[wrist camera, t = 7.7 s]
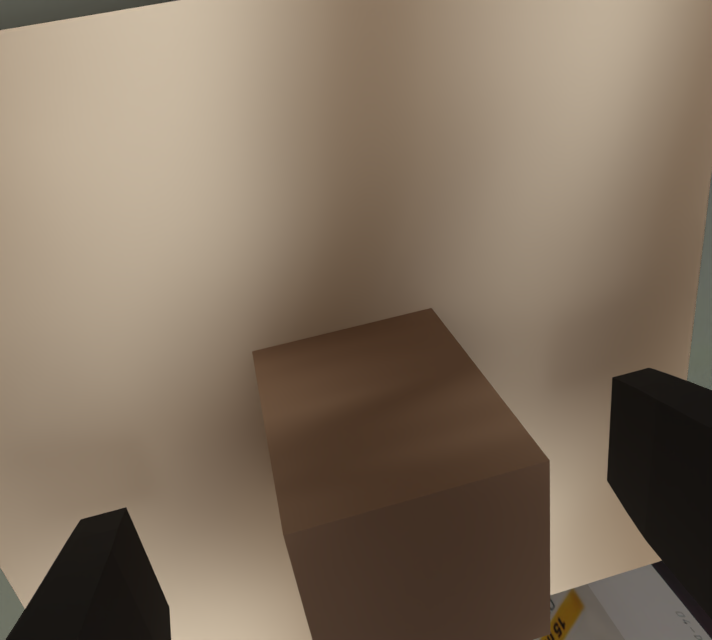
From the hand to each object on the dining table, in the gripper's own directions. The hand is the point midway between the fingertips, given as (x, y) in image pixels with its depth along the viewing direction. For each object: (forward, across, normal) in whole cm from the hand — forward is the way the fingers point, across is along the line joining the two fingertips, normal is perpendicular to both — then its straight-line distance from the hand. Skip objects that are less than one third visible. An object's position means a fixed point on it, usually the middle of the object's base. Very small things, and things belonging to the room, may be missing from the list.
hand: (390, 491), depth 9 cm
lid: (+3, 0, 0) cm, 3 cm away
